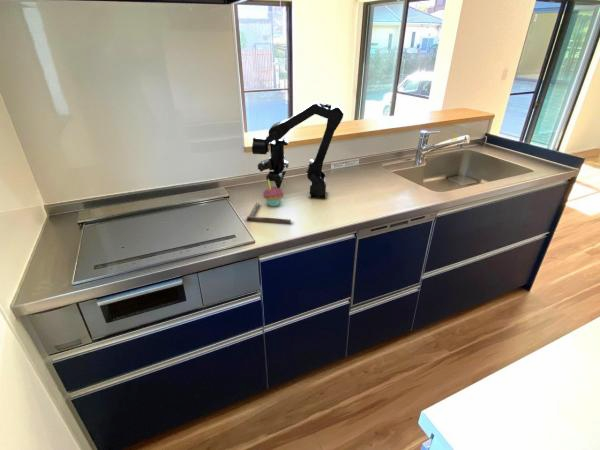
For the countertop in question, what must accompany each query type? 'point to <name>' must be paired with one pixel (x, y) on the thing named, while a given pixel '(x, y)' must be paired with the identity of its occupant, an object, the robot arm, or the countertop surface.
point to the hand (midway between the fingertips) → (278, 188)
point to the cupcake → (273, 195)
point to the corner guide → (262, 219)
